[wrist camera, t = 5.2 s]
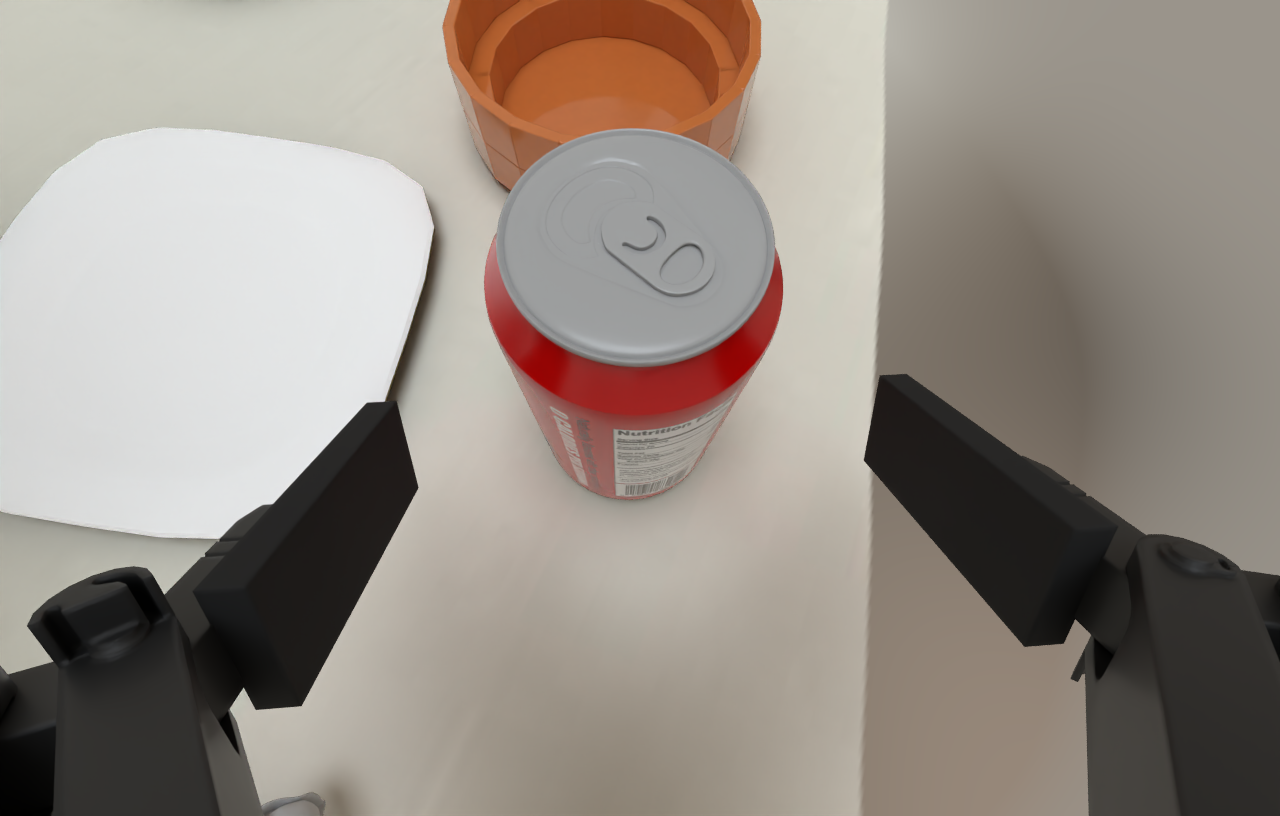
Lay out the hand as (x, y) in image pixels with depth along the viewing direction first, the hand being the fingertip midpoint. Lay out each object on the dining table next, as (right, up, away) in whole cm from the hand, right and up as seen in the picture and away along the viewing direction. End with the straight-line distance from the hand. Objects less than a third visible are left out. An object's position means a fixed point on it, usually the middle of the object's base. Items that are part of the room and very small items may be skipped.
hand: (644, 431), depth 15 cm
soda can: (-1, 0, +12) cm, 12 cm away
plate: (-22, +5, +13) cm, 26 cm away
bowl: (-2, +18, +18) cm, 26 cm away
